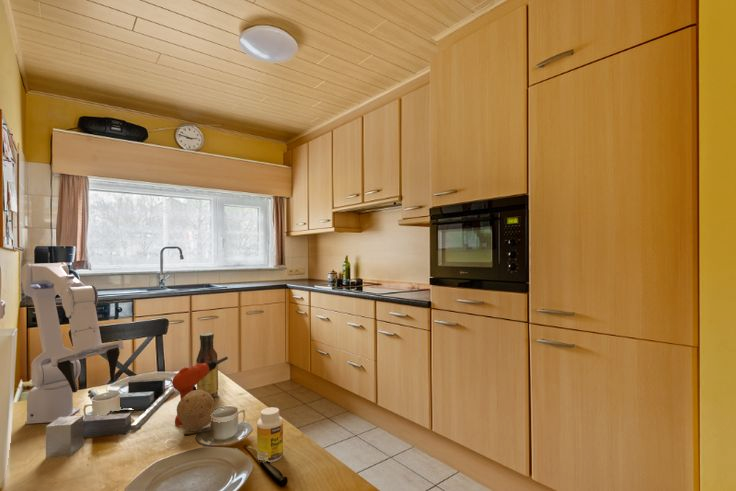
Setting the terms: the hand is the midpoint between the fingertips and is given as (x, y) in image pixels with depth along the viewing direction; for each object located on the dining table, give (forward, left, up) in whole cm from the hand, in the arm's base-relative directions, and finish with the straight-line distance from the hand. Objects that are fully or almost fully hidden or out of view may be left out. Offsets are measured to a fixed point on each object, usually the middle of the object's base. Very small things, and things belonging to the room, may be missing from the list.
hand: (94, 386), depth 94 cm
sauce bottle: (+20, +25, -13) cm, 35 cm away
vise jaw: (+1, +23, -13) cm, 27 cm away
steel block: (-4, -4, -13) cm, 14 cm away
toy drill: (+22, +12, -13) cm, 28 cm away
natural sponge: (+23, +2, -13) cm, 27 cm away
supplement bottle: (+43, -15, -13) cm, 47 cm away
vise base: (+1, +17, -13) cm, 21 cm away
